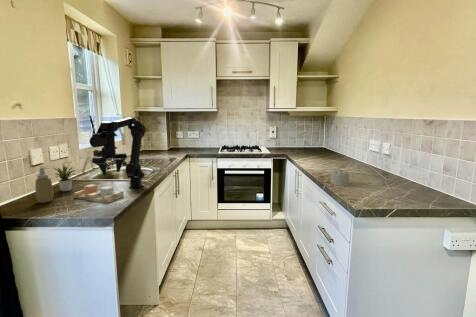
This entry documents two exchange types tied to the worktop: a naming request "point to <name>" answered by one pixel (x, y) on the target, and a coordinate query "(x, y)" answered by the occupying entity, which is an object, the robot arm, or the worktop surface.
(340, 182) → the lumpy-topped squat cylinder
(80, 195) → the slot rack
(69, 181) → the house plant
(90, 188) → the terracotta block
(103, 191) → the blue-grey block
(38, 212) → the worktop surface
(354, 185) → the worktop surface
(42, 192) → the squeeze bottle
